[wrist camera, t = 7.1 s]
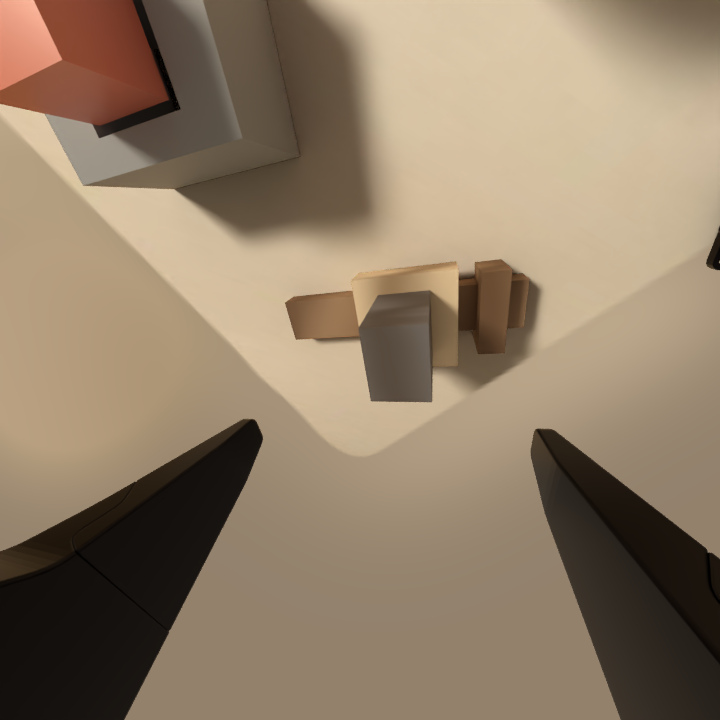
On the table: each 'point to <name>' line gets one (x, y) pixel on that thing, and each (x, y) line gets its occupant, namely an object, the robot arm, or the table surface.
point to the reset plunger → (77, 59)
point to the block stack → (407, 328)
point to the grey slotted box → (194, 102)
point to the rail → (475, 308)
